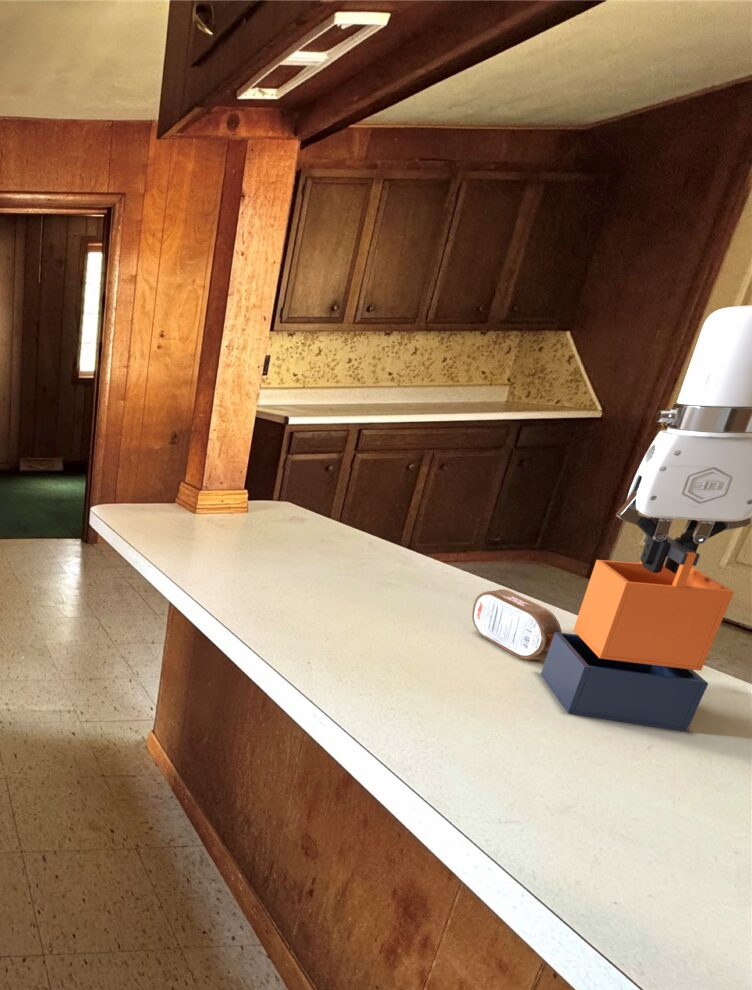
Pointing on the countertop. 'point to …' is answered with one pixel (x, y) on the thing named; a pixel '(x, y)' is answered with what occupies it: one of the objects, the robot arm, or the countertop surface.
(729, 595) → the basket
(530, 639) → the tin
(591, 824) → the countertop surface
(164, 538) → the countertop surface
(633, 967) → the countertop surface
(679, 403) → the robot arm
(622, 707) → the bin outer
